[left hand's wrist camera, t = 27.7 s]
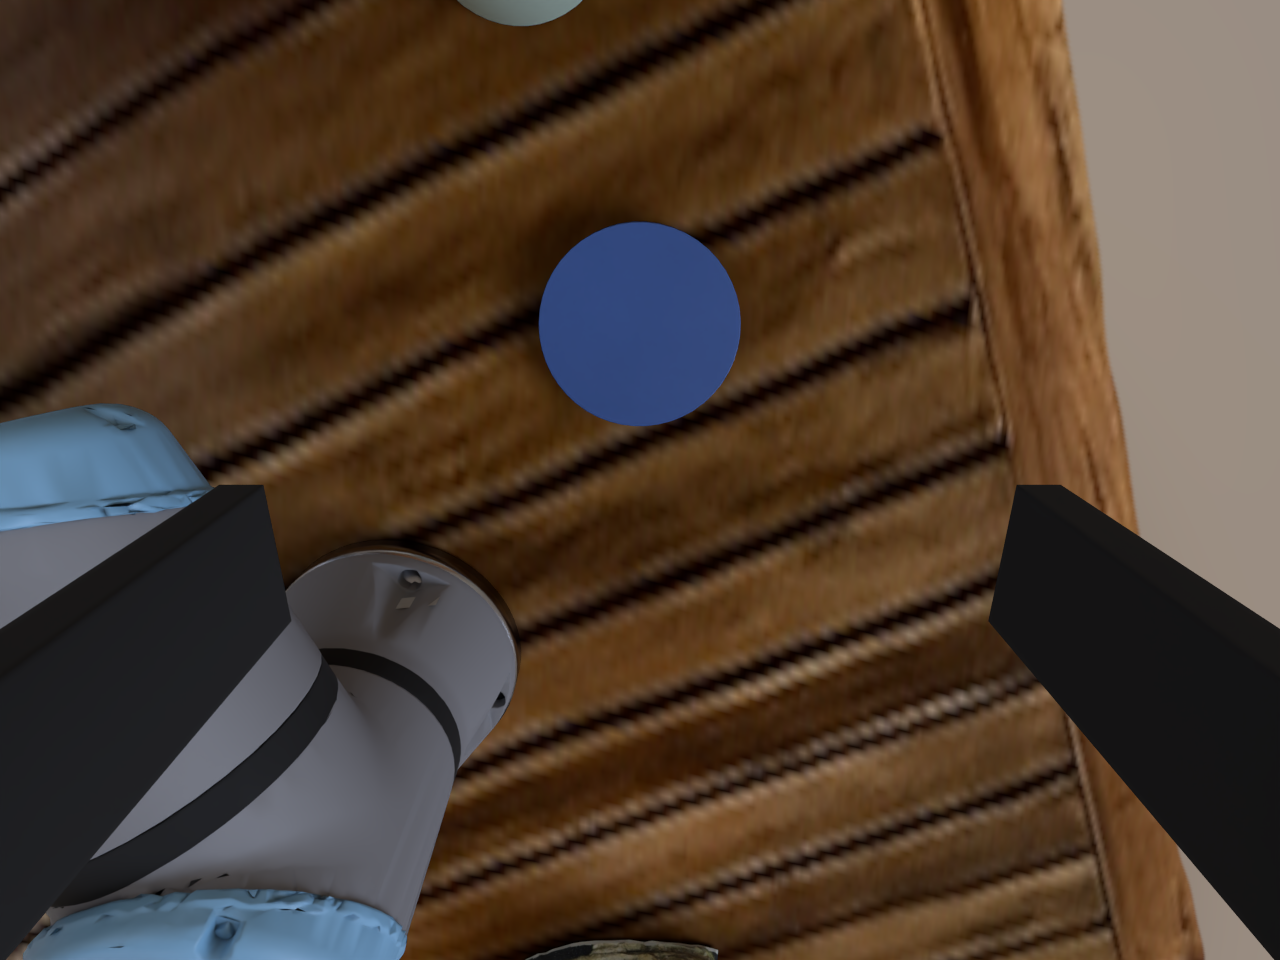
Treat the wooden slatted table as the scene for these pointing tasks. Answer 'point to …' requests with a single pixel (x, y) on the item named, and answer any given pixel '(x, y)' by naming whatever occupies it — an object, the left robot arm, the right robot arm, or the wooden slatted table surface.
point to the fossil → (628, 951)
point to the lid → (639, 323)
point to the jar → (520, 10)
